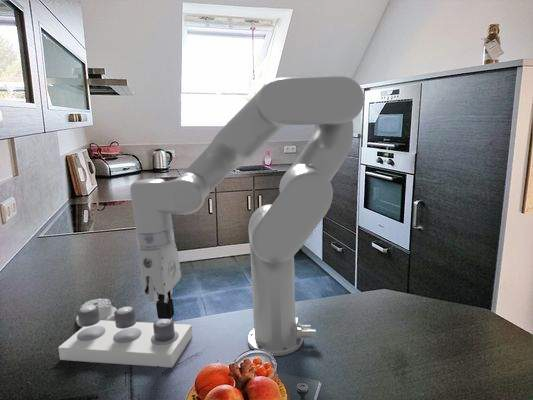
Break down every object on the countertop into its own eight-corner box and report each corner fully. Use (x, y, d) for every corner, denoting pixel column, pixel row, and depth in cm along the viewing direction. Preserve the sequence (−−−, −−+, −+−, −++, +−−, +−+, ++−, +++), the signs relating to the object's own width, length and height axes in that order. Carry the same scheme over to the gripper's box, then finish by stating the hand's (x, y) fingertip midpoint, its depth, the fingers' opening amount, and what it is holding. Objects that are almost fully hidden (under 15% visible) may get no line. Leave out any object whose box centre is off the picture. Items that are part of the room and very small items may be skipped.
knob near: (177, 331, 87) (176, 317, 86) (170, 341, 83) (168, 327, 82) (159, 330, 88) (158, 317, 87) (151, 340, 84) (149, 326, 83)
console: (192, 336, 91) (191, 323, 91) (172, 367, 80) (170, 353, 79) (93, 330, 95) (91, 319, 95) (60, 359, 84) (58, 346, 83)
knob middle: (139, 319, 88) (138, 305, 87) (130, 329, 84) (128, 315, 83) (122, 318, 89) (120, 305, 88) (111, 328, 85) (110, 314, 84)
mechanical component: (124, 316, 103) (105, 306, 109) (123, 301, 102) (103, 292, 108) (88, 333, 95) (70, 321, 101) (86, 316, 94) (67, 306, 100)
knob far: (104, 317, 90) (102, 304, 89) (92, 327, 85) (90, 313, 85) (87, 316, 90) (85, 303, 90) (75, 326, 86) (73, 312, 85)
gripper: (156, 248, 73) (168, 336, 77) (185, 227, 87) (194, 301, 91) (120, 249, 74) (133, 335, 78) (154, 228, 89) (164, 301, 92)
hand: (166, 316), depth 85 cm, fingers closed
